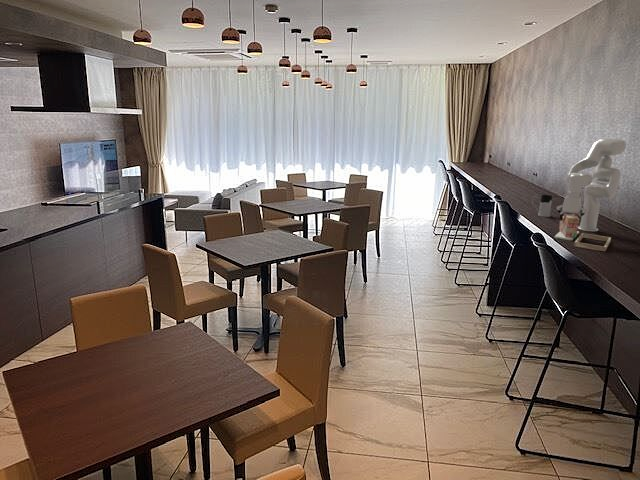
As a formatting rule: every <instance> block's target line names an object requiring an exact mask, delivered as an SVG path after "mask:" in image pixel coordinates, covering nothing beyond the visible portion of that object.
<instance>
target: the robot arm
mask: <svg viewBox="0 0 640 480" xmlns="http://www.w3.org/2000/svg"><path fill="white" fill-rule="evenodd" d="M626 148H627V144H626V142H625V140H622V139H610V138H600V139H598V140H597V141H595V142H593V144H592V145H591V146H590V148H589V150H588V152H587V154H586V156H585V158H583V159H582V160H579V161H578V162H576V163H575V164H574V165H572V166H571V168H570V170H569V172H568V173H567V176H566V182H567V183H568V186H567V192H566V193H567V194H566V195H565V197H564V200H563V204H561V205H558V206H556V210H557V212H558V213H559V222H560V221H562V219H563V216H564V214H565V213H567V214H575V215H578V216H577V217H578V218H579V224H580V225H578V229H577V230H579V231H584V232H594V233H595V232H598V231H599V228H598V227H597V224H598V218H599V214H600V208H601V203H600V200H599V199H605V200H610V199H613V197H615V193H616V191H617V188H618V185H619V182H620V180H621V175H622V173H621V170H620V169H619V168H617V167H616V168H614V167H612V164H613V158H612V156H618V155H621V154H622V153H624V152H625V150H626ZM591 168H594V169H593V173H592V175H591V174H589V173H583V172H581V171H584V170H586V169H587V170H588V169H591ZM593 180H594V181H593ZM595 181H596V182H595ZM583 187H584V193H582V188H583ZM582 196H584V200H583V197H582ZM582 204H583V205H582ZM561 208H562V209H561ZM581 211H582V212H581Z"/></svg>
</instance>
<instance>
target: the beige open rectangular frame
mask: <svg viewBox="0 0 640 480" xmlns="http://www.w3.org/2000/svg"><path fill="white" fill-rule="evenodd" d="M583 238H584V239H589V240H590V239H591V240H596V241H604V242H606V243H605V244H604V246H602V245H598V244H597V245H596V244H591V243H583V242H581V241H582V239H583ZM611 240H612V237H610V236H604V235H598V234H597V235H596V234H592V233H591V234H589V233H581V234H580V235H579V236H578V237H576V239H575V241H574V242H573V247H574V248H583V249H587V250H593V251H601V252H606V250H607V249H608V247H609V245H610V243H611Z"/></svg>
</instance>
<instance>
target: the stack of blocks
mask: <svg viewBox="0 0 640 480" xmlns="http://www.w3.org/2000/svg"><path fill="white" fill-rule="evenodd" d="M578 217H579V216H577V214H575V213H563V219H562V221H560V220H559V226H558V230H559V232H560V231H561V232H562V233H563V235H564V236H565V237H572V238H574V239H577V236H578V235H577V231H578V230H579V229H578V226H580V225H579V224H580V222H579V218H578Z"/></svg>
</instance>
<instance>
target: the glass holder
mask: <svg viewBox="0 0 640 480" xmlns="http://www.w3.org/2000/svg"><path fill="white" fill-rule="evenodd" d="M534 198H537V202H538V203H539V209H538V208H537V207H536V206H535V205H534V200H533V199H534ZM531 203H532V206H533V208H535V209H536V211H537V213H538V214H537V216H538V217H545V218H549V217H551V209H552V203H553V195H551V194H550V195H549V194H542V195H541V196H540V199H539V197H538V196H536V195H534V196H533V197H532V199H531Z"/></svg>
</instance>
